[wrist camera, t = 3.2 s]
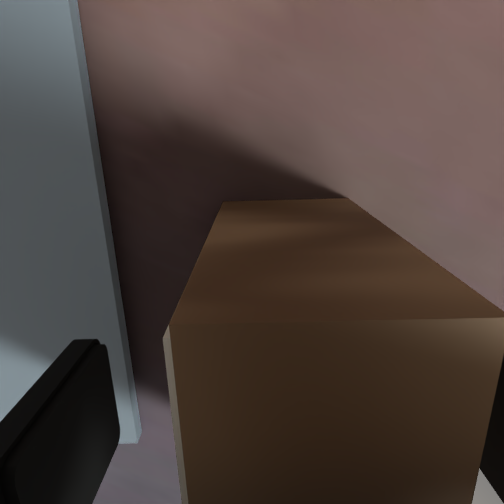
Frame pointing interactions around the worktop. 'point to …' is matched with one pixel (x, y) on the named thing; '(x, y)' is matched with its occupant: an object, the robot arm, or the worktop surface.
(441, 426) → the wooden block
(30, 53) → the rubber mat
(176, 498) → the worktop surface
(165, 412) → the worktop surface
